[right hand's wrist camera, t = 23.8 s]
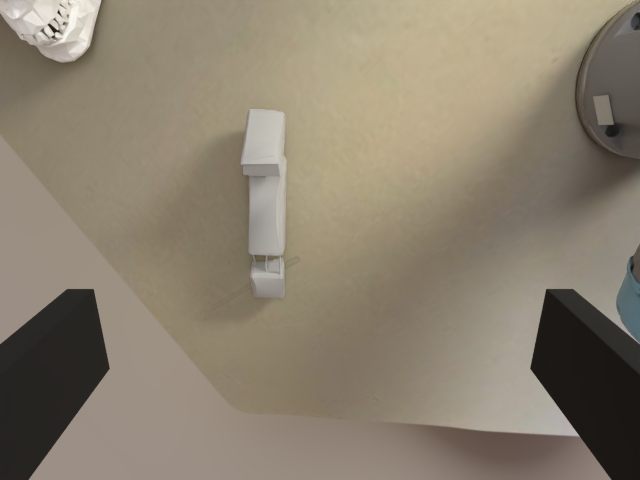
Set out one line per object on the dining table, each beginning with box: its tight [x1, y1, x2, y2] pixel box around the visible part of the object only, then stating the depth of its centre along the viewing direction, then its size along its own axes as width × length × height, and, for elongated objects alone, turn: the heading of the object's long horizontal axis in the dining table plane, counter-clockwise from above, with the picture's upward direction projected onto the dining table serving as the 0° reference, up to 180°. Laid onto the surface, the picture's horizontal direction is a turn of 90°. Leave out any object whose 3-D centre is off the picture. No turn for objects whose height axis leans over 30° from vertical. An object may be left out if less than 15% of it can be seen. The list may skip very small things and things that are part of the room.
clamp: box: [240, 108, 287, 298], centre depth 44 cm, size 20×4×7 cm, turn 179°
